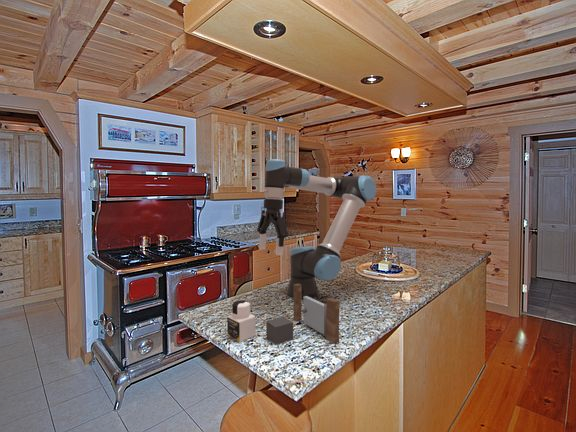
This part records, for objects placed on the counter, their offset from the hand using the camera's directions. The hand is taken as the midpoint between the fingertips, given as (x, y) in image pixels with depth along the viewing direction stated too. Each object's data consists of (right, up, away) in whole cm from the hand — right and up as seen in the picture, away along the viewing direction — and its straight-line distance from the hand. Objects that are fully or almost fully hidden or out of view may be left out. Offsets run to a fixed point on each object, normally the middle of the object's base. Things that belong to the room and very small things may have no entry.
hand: (270, 252), depth 128 cm
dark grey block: (+4, -28, -18) cm, 33 cm away
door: (+17, -26, -13) cm, 34 cm away
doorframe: (+17, -27, -12) cm, 34 cm away
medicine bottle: (-9, -27, -16) cm, 33 cm away
